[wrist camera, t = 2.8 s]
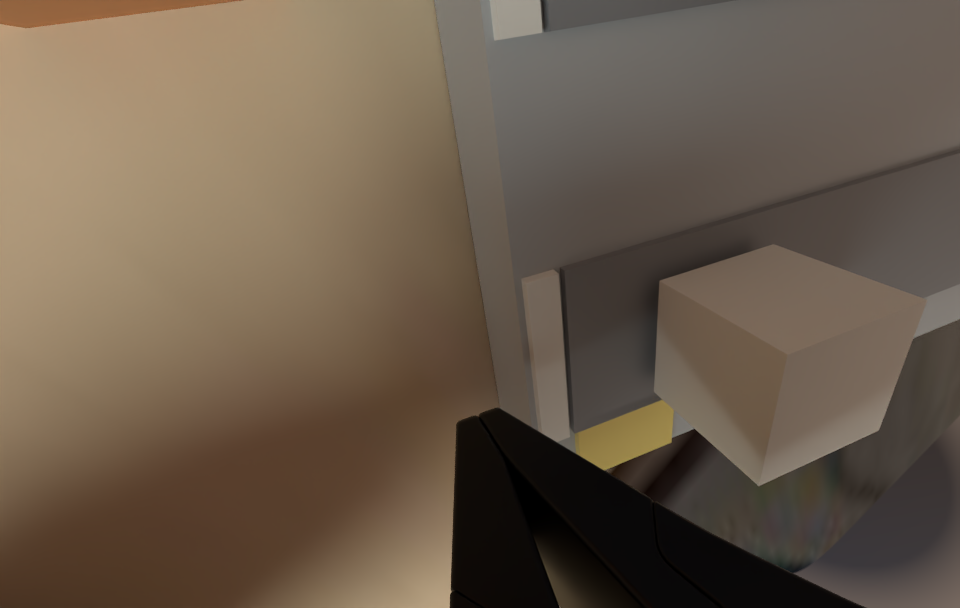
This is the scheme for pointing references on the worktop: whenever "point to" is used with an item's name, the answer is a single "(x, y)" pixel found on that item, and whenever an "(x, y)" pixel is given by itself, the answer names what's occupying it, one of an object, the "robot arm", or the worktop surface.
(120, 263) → the worktop surface
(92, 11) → the orange rectangular block
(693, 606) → the robot arm
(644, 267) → the breaker panel
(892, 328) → the toggle
